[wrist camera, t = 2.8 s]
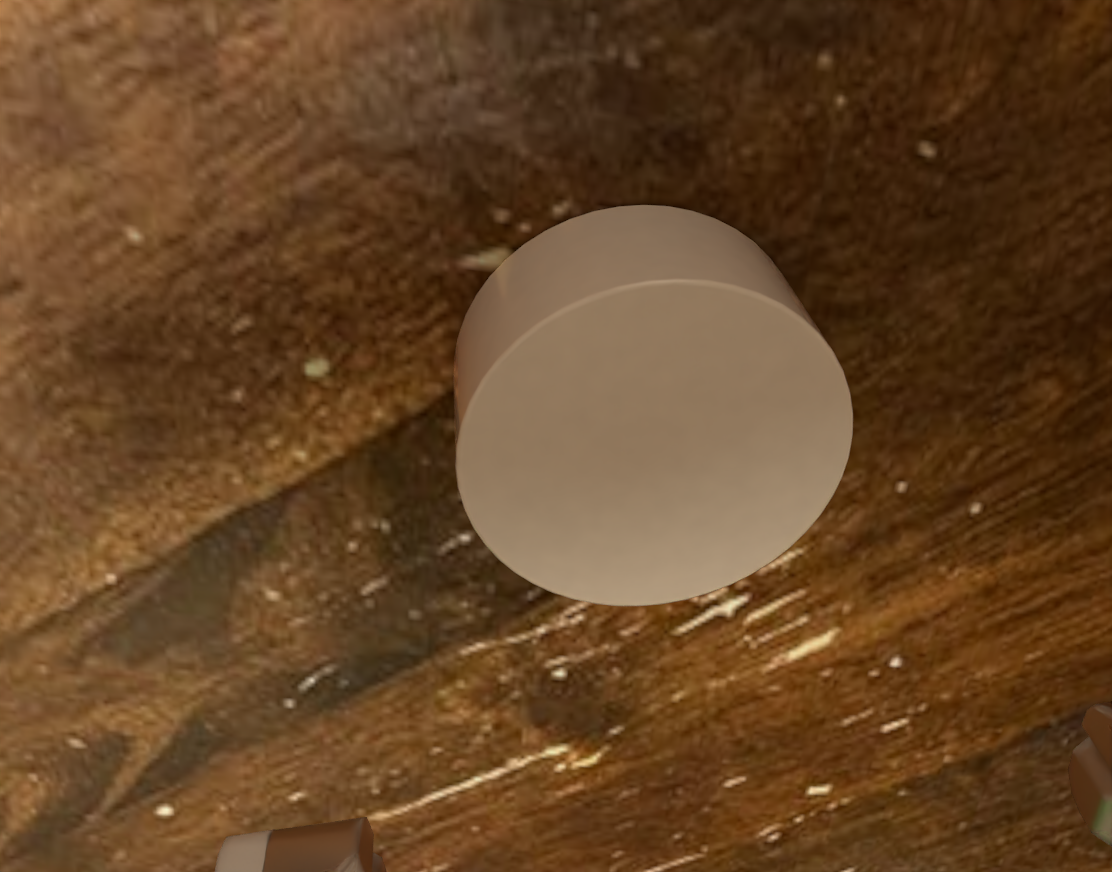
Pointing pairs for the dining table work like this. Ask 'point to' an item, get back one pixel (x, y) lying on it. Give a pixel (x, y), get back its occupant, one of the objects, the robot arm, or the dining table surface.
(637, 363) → the beige hockey puck
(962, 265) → the dining table surface
